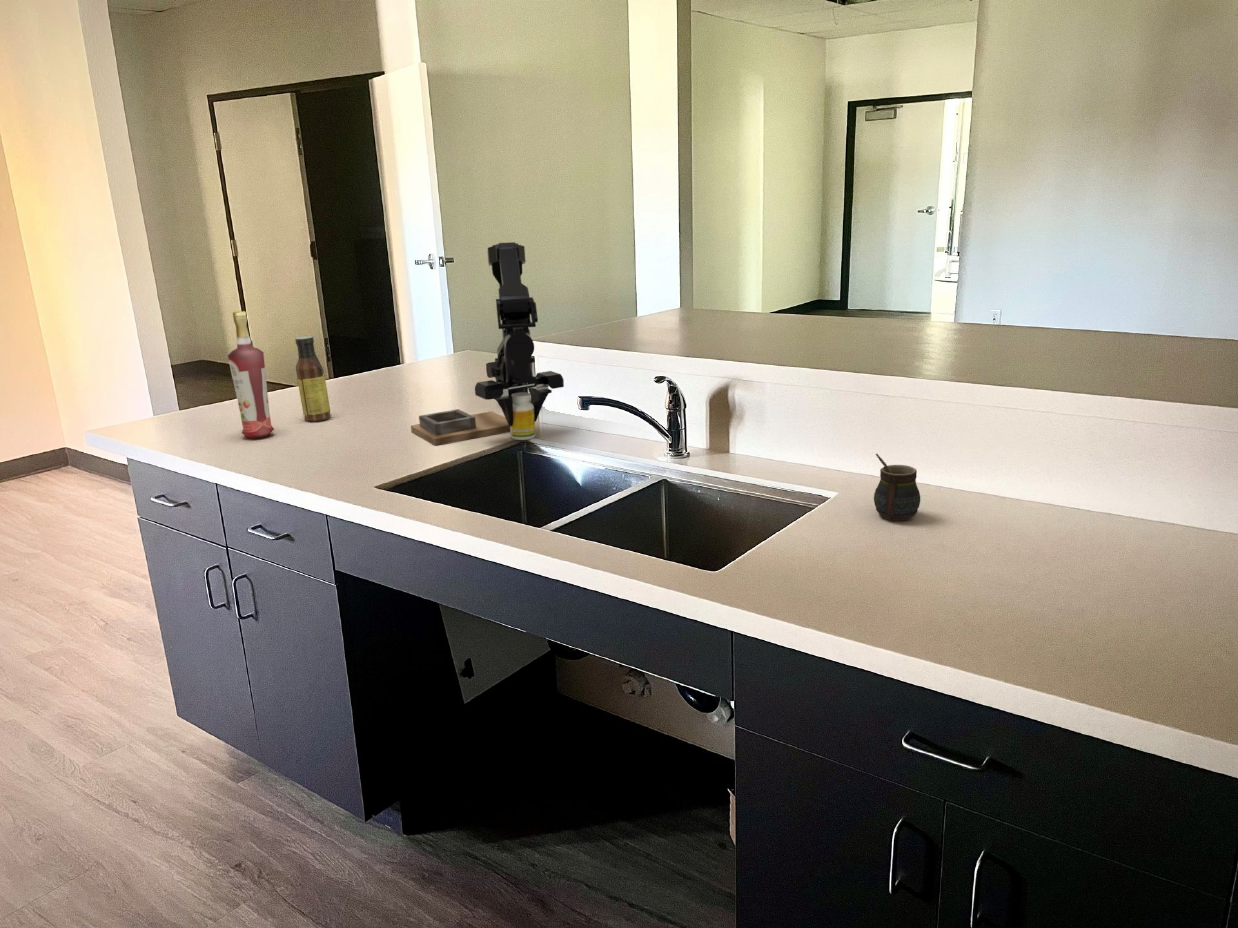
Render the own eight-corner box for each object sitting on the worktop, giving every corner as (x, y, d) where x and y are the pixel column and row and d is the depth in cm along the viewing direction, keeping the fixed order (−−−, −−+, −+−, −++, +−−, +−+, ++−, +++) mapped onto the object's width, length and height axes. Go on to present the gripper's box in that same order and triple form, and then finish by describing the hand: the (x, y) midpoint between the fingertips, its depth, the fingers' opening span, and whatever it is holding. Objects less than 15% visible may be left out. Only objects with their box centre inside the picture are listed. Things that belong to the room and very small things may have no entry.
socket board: (492, 417, 214) (490, 401, 212) (519, 429, 202) (517, 412, 201) (411, 431, 203) (409, 414, 202) (435, 445, 192) (433, 427, 191)
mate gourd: (913, 527, 140) (916, 466, 137) (865, 520, 144) (867, 460, 141) (925, 512, 146) (928, 453, 143) (878, 505, 150) (880, 448, 147)
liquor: (281, 435, 204) (263, 311, 195) (250, 442, 199) (230, 315, 190) (266, 430, 209) (247, 308, 200) (235, 437, 204) (214, 313, 195)
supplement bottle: (507, 436, 198) (504, 393, 195) (530, 432, 200) (527, 390, 197) (515, 442, 193) (512, 398, 190) (539, 438, 195) (536, 395, 192)
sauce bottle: (336, 417, 218) (326, 335, 212) (318, 423, 213) (307, 340, 207) (315, 415, 221) (304, 334, 215) (297, 421, 216) (285, 338, 210)
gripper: (538, 342, 202) (542, 409, 207) (461, 352, 192) (467, 423, 197) (563, 349, 193) (566, 419, 198) (483, 360, 183) (489, 434, 188)
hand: (522, 423), depth 195 cm, fingers closed on supplement bottle, 5 cm apart
